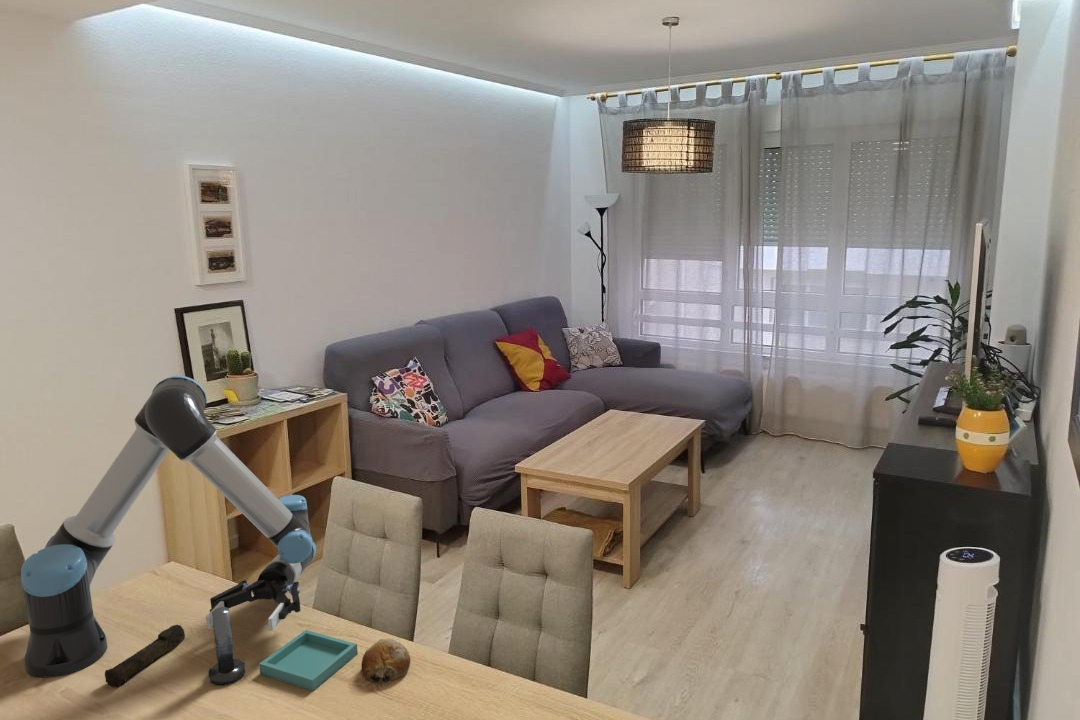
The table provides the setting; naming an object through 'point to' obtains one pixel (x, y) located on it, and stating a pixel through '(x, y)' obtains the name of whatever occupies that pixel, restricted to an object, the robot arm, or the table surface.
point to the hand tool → (145, 655)
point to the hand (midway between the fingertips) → (239, 623)
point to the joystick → (224, 651)
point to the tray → (308, 659)
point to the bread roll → (385, 661)
